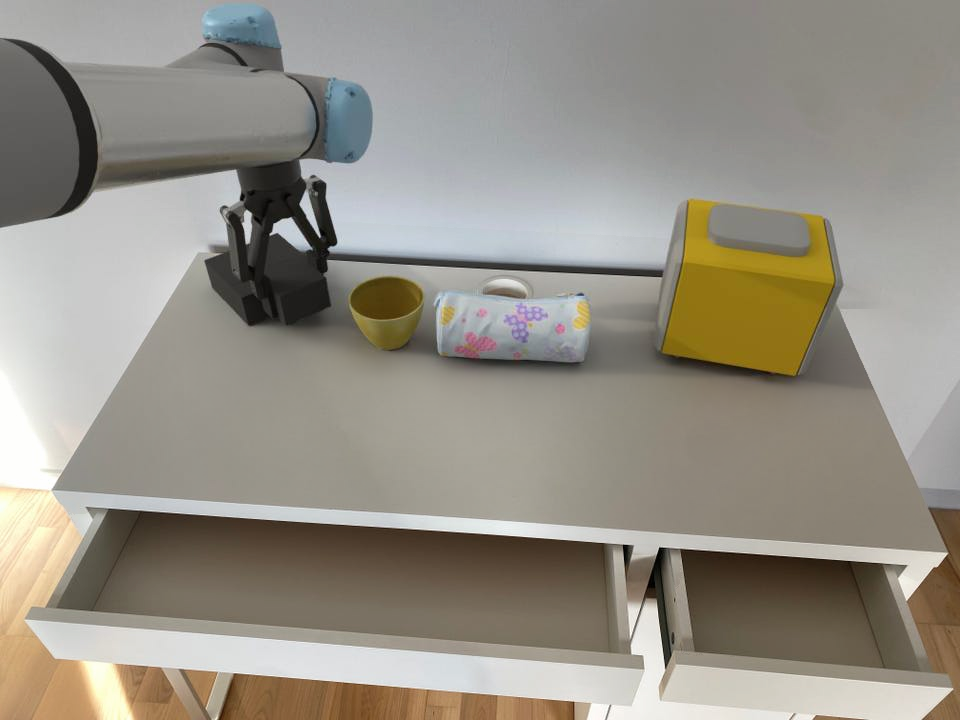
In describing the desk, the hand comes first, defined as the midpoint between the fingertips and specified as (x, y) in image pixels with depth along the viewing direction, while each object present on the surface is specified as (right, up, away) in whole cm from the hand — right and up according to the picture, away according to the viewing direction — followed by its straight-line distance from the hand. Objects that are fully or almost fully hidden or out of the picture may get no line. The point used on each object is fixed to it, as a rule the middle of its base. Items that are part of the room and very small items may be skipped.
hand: (295, 302), depth 100 cm
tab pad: (-1, +1, +1) cm, 2 cm away
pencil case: (+30, -7, -2) cm, 31 cm away
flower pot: (+13, -5, 0) cm, 14 cm away
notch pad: (-6, +2, +8) cm, 10 cm away
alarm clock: (+60, -5, +1) cm, 60 cm away
